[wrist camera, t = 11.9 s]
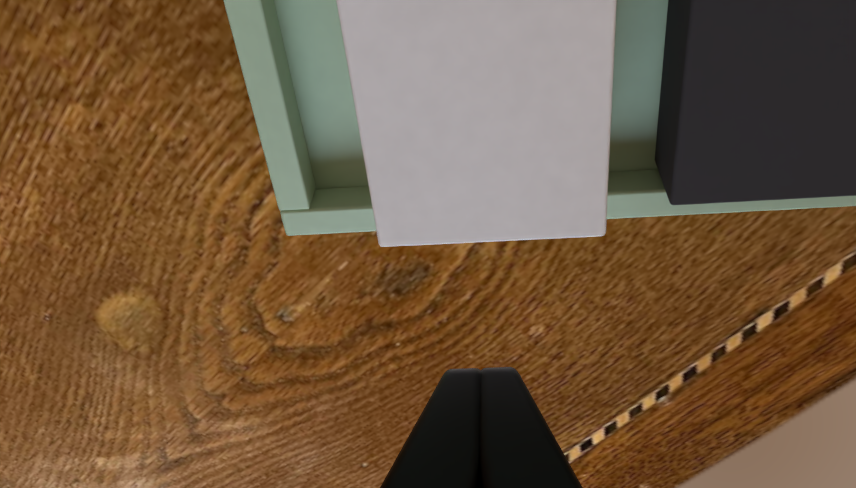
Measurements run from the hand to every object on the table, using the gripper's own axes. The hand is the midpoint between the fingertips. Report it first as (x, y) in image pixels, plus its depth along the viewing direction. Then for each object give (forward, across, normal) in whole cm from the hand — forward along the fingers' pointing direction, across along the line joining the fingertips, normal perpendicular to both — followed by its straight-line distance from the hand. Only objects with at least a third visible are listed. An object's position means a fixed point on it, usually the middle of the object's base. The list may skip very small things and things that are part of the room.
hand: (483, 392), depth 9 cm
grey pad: (+10, 0, 0) cm, 10 cm away
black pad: (+10, -6, 0) cm, 12 cm away
